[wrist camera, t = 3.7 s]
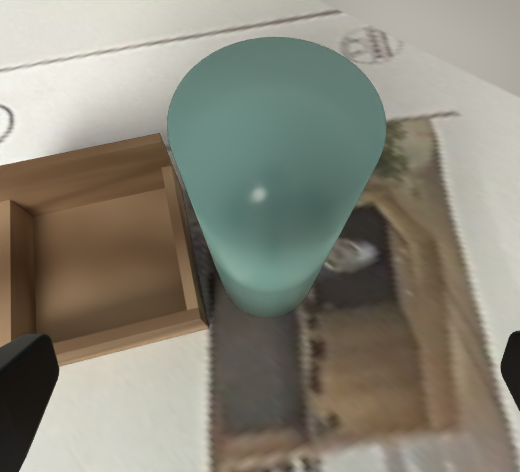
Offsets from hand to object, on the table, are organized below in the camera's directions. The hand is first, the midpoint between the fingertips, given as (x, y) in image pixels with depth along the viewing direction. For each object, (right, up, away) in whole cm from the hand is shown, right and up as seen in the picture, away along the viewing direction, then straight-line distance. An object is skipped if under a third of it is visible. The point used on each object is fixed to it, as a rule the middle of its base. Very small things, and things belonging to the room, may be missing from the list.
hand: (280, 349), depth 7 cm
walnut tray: (-8, 0, +13) cm, 15 cm away
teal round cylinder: (0, 0, +13) cm, 13 cm away
